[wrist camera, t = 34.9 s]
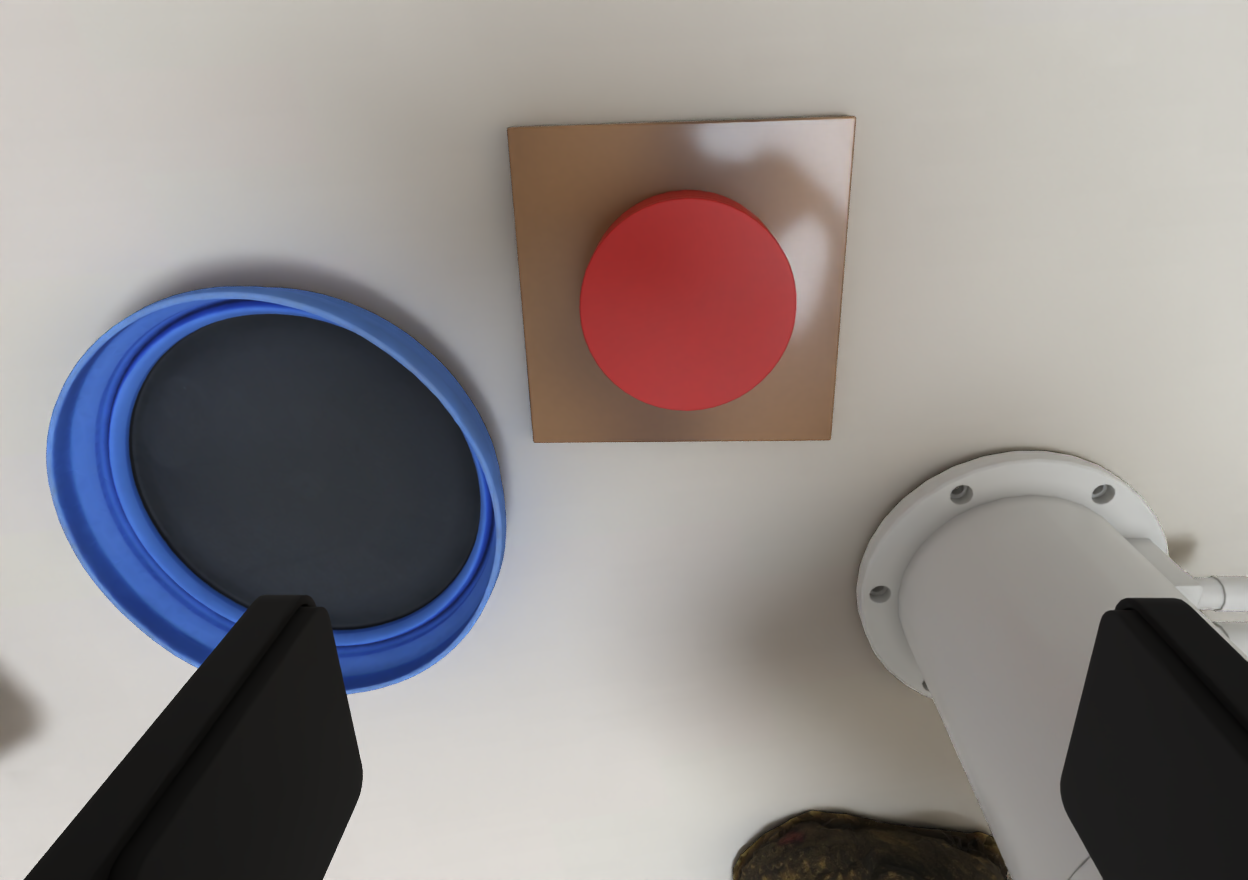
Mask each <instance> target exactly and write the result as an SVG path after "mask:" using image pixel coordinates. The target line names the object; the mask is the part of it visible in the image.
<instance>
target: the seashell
mask: <svg viewBox="0 0 1248 880" xmlns="http://www.w3.org/2000/svg"><path fill="white" fill-rule="evenodd" d="M1007 872H1008V869H1007V866H1005V862H1004V860H1003V857H1002V855H1001V853H1000V851H999V848H998V846H997V844H996V841H995V839H994V837H993V836H990V835H987V834H984V833H982V832H973V833H963V832H955V831H947V830H937V829H927V828H917V827H909V826H901V825H895V824H888V823H881V822H876V821H874V820H871V819H868V818H861V817H856V816H852V815H847V814H837V813H827V812H820V811H809V812H806V813H804V814H801V815H799V816H796V817H794V818H792V819H790V820H789V821H787V822H786V823H784V824H782V825H780V826H778V827H777V828H775V829H773V830H770V831H768V832H767V833H765V834H764V835H763V836H761V837H760V838H759V839H758V840H757V841H756V842H755V843H754V844H752V845H751V846H750V847H749V848H748V849H747V850H746V851H745V852H744V853H743V854H742V855H741V856H740V858H739V859H738V861H737V863H736V865H735V866H734V868H733V879H734V880H1007V877H1006V875H1007Z"/></svg>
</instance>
